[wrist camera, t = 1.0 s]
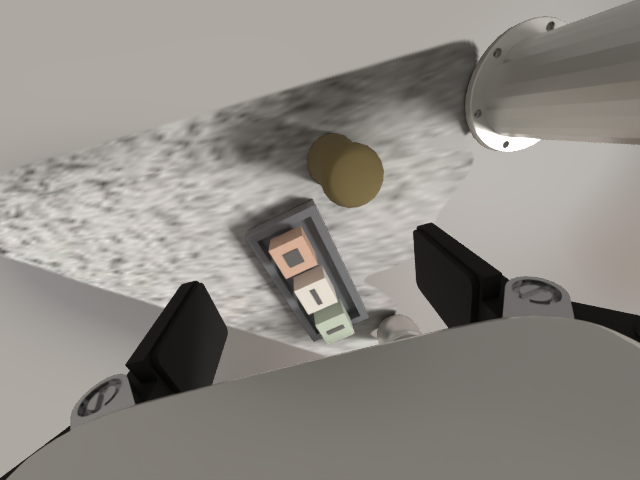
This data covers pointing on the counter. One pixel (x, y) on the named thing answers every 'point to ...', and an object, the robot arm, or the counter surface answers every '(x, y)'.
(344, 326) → the key sage
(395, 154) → the counter surface
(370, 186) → the olive rounded piece
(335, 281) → the base
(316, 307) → the key cream
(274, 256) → the peach square block
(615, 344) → the robot arm
